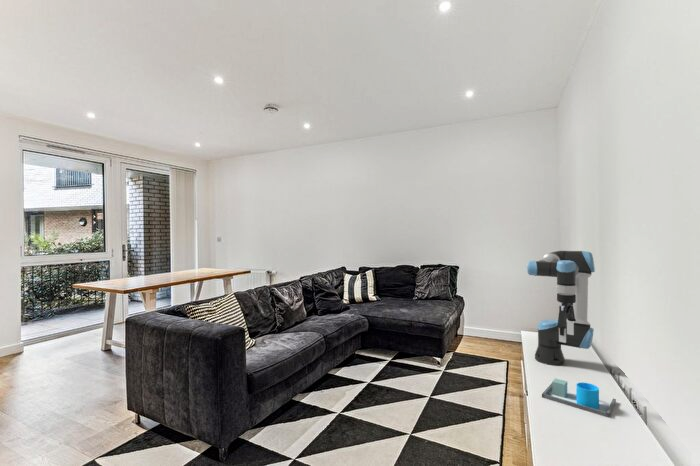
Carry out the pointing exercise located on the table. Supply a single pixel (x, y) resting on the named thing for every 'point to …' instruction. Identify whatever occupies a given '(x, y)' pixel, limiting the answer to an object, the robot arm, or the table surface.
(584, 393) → the mug
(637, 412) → the table surface
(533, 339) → the table surface
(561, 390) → the block
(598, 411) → the tray frame
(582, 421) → the table surface
